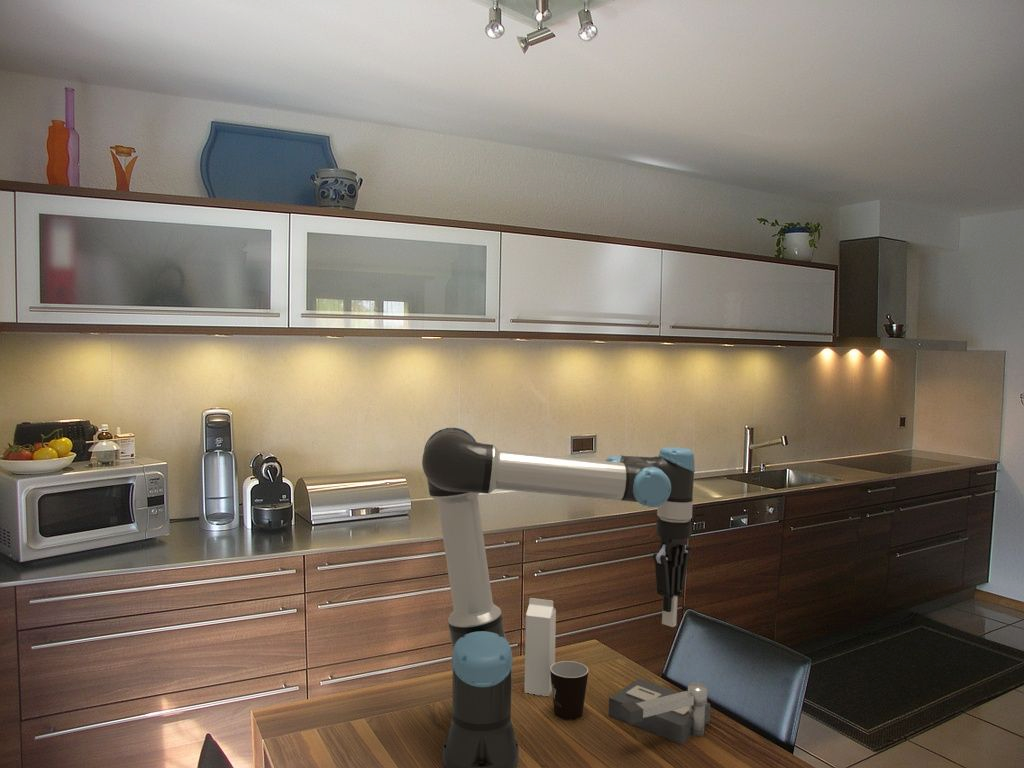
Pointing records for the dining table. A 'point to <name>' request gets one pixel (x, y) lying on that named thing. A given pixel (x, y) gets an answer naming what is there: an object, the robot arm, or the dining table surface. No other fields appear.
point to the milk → (539, 646)
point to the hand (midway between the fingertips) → (669, 624)
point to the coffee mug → (568, 688)
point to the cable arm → (664, 703)
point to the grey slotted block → (667, 724)
